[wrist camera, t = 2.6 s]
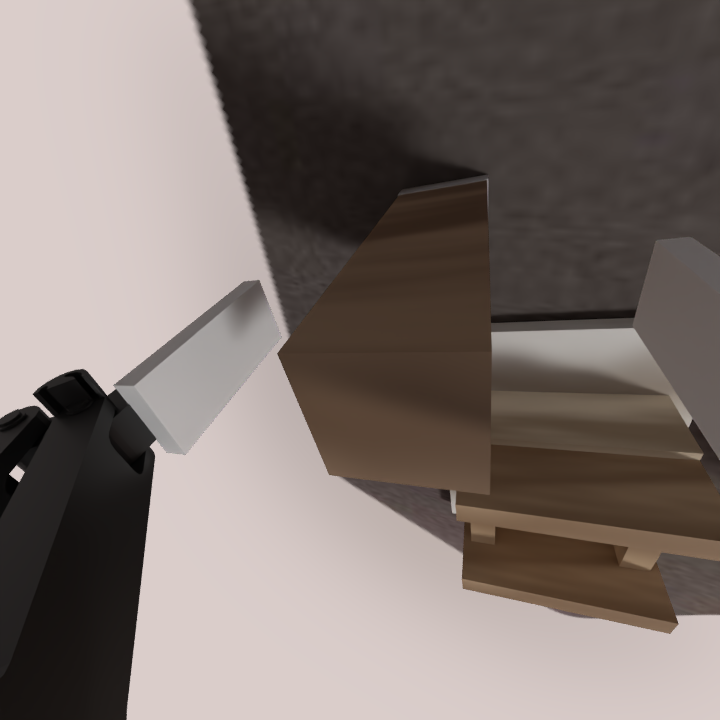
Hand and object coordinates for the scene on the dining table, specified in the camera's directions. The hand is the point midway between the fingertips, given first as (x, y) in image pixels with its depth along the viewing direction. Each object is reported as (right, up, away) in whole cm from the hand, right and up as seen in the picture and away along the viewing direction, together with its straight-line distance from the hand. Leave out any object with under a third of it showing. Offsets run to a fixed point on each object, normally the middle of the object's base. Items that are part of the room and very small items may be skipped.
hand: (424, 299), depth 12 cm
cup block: (+11, -8, +12) cm, 18 cm away
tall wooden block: (+2, +5, +5) cm, 8 cm away
